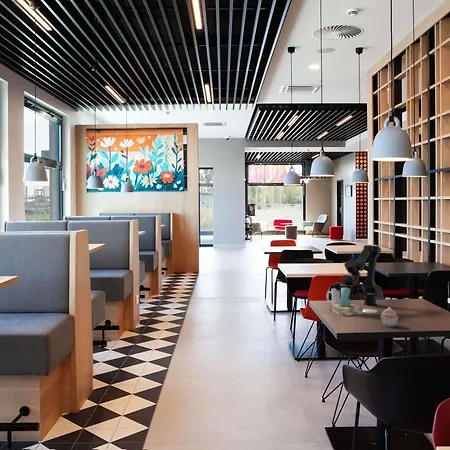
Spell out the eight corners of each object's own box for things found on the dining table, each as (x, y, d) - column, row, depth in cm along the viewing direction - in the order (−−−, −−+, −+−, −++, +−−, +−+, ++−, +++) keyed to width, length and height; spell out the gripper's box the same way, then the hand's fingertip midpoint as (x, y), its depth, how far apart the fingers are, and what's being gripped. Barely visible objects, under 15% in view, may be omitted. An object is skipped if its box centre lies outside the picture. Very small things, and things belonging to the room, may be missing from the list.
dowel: (347, 307, 298) (346, 287, 298) (352, 309, 293) (351, 288, 293) (339, 308, 297) (339, 288, 296) (344, 310, 291) (344, 289, 291)
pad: (370, 309, 303) (370, 308, 303) (380, 312, 293) (380, 311, 293) (357, 310, 300) (357, 309, 300) (366, 313, 290) (366, 312, 290)
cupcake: (386, 322, 265) (385, 304, 265) (402, 325, 258) (401, 306, 258) (376, 325, 259) (376, 306, 259) (392, 328, 252) (392, 309, 252)
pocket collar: (349, 309, 304) (349, 303, 304) (362, 313, 290) (362, 307, 290) (329, 311, 299) (329, 305, 299) (342, 315, 286) (341, 309, 286)
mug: (342, 307, 313) (342, 288, 313) (342, 308, 307) (341, 289, 307) (326, 306, 316) (326, 288, 316) (326, 308, 310) (325, 289, 310)
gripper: (334, 269, 304) (325, 288, 296) (362, 270, 291) (354, 291, 283) (341, 280, 310) (332, 300, 302) (368, 282, 297) (360, 303, 289)
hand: (344, 298), depth 294 cm, fingers closed on dowel, 5 cm apart
